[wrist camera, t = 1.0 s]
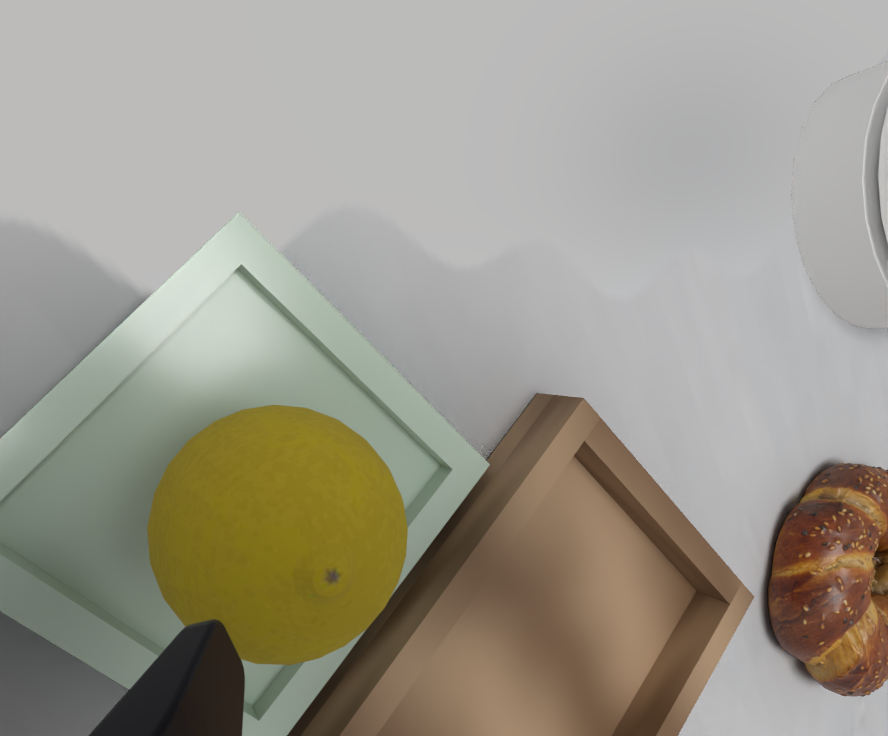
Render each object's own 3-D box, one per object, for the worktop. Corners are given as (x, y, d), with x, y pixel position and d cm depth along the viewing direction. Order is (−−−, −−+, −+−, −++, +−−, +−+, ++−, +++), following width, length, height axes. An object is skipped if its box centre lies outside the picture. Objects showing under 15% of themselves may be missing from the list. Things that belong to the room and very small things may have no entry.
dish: (252, 746, 19) (260, 769, 18) (-97, 530, 15) (-111, 543, 14) (471, 459, 23) (490, 464, 22) (231, 219, 19) (239, 211, 18)
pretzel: (889, 431, 35) (970, 440, 32) (903, 621, 36) (983, 648, 33) (743, 490, 30) (823, 508, 26) (765, 711, 31) (844, 754, 28)
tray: (515, 892, 24) (559, 949, 22) (276, 739, 20) (299, 791, 17) (700, 576, 28) (754, 596, 26) (537, 393, 24) (584, 397, 22)
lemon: (372, 482, 20) (515, 554, 13) (240, 626, 19) (324, 796, 12) (249, 354, 19) (340, 358, 12) (89, 500, 17) (80, 611, 10)
